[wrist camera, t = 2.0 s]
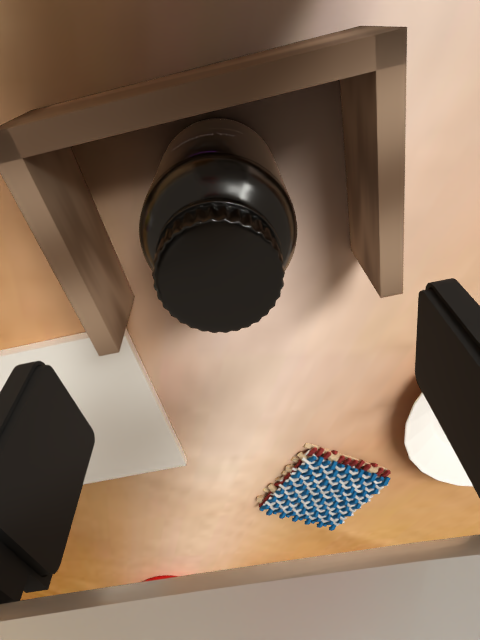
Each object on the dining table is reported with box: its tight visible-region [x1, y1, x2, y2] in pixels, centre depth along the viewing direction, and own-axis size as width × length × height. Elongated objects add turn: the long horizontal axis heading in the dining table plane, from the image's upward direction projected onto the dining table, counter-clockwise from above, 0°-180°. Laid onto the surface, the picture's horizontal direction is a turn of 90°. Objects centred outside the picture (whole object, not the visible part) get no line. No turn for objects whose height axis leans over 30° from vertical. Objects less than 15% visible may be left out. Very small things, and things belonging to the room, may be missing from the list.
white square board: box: [0, 329, 187, 484], centre depth 35 cm, size 16×16×1 cm
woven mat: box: [257, 443, 391, 531], centre depth 43 cm, size 10×11×2 cm
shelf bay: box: [0, 26, 407, 356], centre depth 23 cm, size 12×17×6 cm
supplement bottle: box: [139, 118, 297, 333], centre depth 20 cm, size 7×7×12 cm
